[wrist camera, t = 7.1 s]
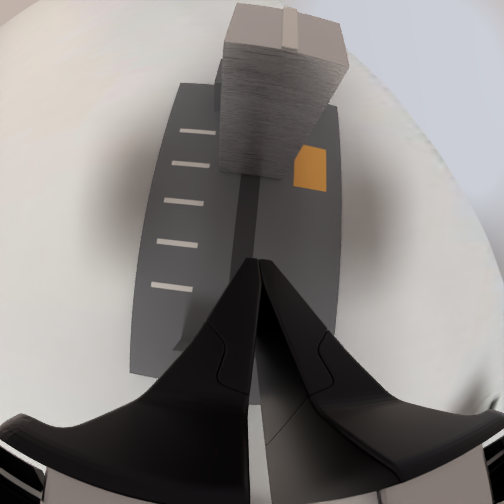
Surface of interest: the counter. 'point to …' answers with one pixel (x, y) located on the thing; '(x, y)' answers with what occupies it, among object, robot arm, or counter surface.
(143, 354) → the fader panel
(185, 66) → the counter surface
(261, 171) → the fader tab
